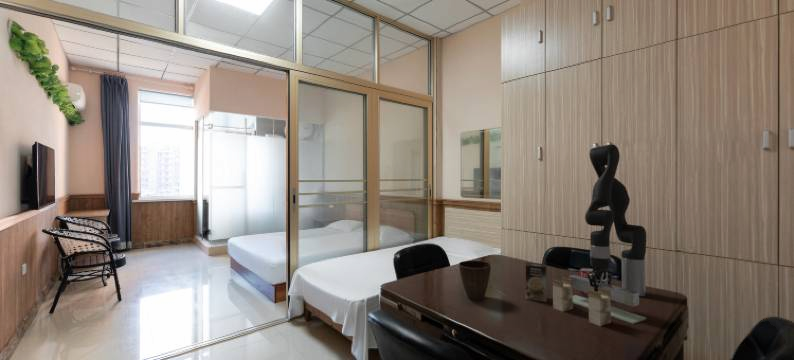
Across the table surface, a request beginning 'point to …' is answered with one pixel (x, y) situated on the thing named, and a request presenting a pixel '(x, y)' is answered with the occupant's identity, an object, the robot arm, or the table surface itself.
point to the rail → (615, 292)
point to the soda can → (585, 276)
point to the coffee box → (536, 282)
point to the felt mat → (614, 311)
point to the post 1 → (562, 294)
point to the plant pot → (475, 278)
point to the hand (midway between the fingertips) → (600, 295)
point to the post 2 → (599, 307)
